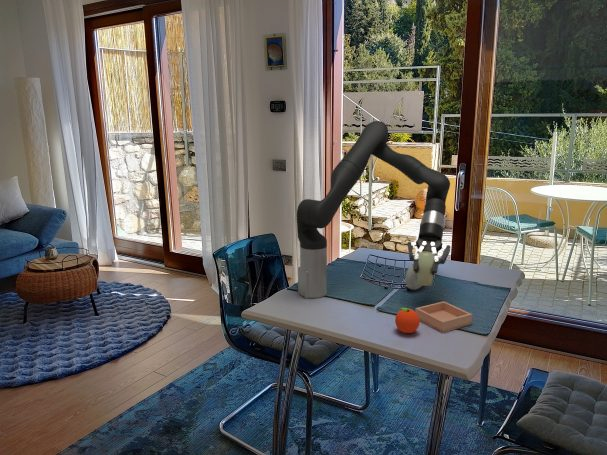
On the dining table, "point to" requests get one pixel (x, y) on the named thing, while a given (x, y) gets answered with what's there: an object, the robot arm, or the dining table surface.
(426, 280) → the pale green cylinder
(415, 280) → the donut
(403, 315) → the clementine
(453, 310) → the dish
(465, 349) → the dining table surface
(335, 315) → the dining table surface
